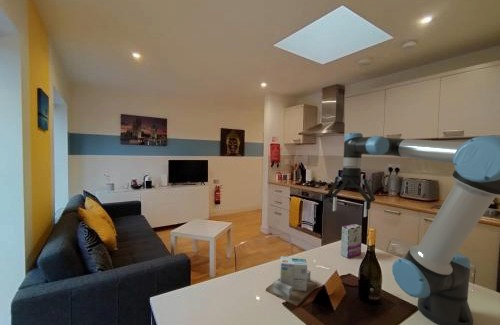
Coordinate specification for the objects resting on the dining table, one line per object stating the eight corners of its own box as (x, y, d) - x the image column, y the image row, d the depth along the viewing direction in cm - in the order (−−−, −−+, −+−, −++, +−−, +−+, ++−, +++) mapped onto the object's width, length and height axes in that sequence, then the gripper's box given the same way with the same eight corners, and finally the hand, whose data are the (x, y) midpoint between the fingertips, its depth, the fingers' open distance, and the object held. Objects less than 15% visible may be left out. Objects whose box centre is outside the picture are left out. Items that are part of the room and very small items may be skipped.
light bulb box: (304, 282, 99) (305, 257, 99) (306, 291, 93) (308, 265, 92) (279, 280, 101) (280, 255, 100) (279, 289, 94) (280, 262, 93)
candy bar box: (353, 251, 136) (354, 223, 135) (361, 255, 131) (362, 226, 131) (339, 255, 130) (341, 225, 130) (347, 258, 126) (349, 228, 125)
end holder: (317, 285, 99) (318, 274, 99) (297, 306, 85) (297, 292, 85) (288, 273, 108) (289, 263, 108) (265, 290, 94) (266, 278, 94)
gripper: (384, 169, 102) (381, 217, 103) (328, 165, 118) (325, 207, 119) (380, 169, 96) (377, 220, 97) (322, 165, 112) (319, 209, 113)
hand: (349, 213), depth 108 cm, fingers open, 13 cm apart
